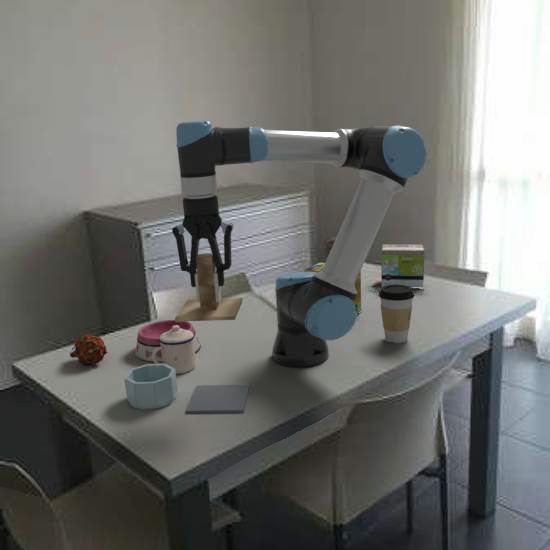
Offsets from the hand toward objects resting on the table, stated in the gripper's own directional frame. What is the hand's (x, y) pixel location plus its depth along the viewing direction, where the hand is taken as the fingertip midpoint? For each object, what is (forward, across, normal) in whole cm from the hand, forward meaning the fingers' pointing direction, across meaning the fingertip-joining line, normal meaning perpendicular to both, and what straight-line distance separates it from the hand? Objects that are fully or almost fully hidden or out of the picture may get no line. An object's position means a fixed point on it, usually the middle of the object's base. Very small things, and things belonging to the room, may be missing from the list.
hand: (209, 299), depth 138 cm
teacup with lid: (+24, +14, -18) cm, 33 cm away
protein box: (+25, -28, -60) cm, 71 cm away
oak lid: (+3, 0, 0) cm, 3 cm away
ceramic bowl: (+24, +16, 0) cm, 29 cm away
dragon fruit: (+24, +40, -23) cm, 52 cm away
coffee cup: (+25, -45, -36) cm, 63 cm away
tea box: (+26, -54, -90) cm, 108 cm away
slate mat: (+24, 0, 0) cm, 24 cm away
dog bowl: (+25, +20, -31) cm, 45 cm away
